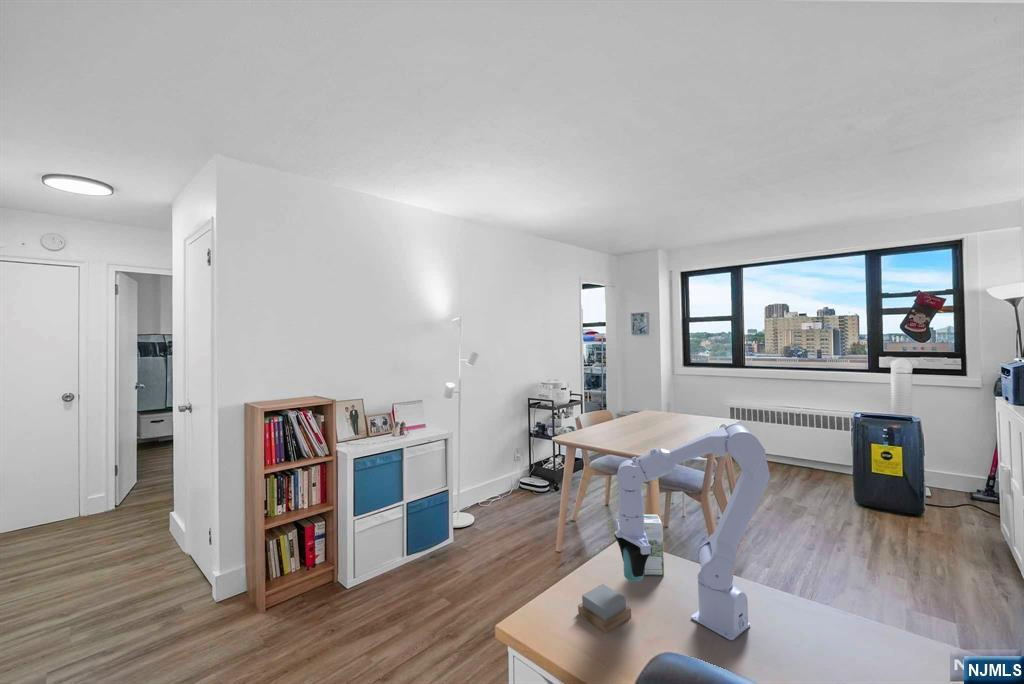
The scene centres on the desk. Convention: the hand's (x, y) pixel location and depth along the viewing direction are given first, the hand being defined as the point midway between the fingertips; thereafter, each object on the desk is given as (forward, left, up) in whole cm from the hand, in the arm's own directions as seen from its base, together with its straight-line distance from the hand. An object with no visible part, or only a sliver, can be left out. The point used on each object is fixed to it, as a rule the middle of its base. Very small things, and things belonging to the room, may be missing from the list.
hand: (633, 569), depth 102 cm
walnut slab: (+3, +7, -10) cm, 12 cm away
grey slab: (+3, +8, -7) cm, 11 cm away
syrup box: (+8, -16, -9) cm, 20 cm away
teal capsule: (0, 0, -1) cm, 1 cm away
